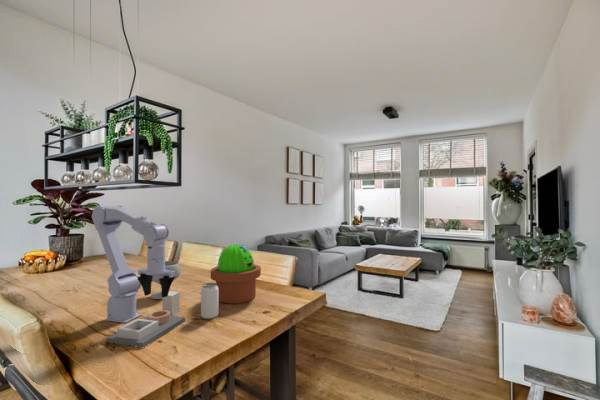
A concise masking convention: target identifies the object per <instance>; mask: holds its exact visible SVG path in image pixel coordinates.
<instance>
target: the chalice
mask: <svg viewBox="0 0 600 400" xmlns="http://www.w3.org/2000/svg"><path fill="white" fill-rule="evenodd" d="M165 269H167V270H171V271H175V278H174V280H173V282H174V281H175V280H177V279H178V278H179V277H180V275H181V272H182V271H181V266H180V264H179V262H177V261H175V260H174V261H173V260H171V261H170V260H169V261H168V260H167V261H166V260H165ZM160 278H164V276H153V278H152V282H153V283H156V284H158V285H160V286H161V284H160V281H159V279H160ZM169 292H178V291H177V290H173V289H172V290H170V289H169ZM150 299H152V300H162V290H161V291H157V292H153V293H151V294H150Z"/></svg>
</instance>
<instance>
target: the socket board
mask: <svg viewBox="0 0 600 400" xmlns="http://www.w3.org/2000/svg"><path fill="white" fill-rule="evenodd" d="M185 322H186V317H184V316H176V315H174V316H170V311H167V310H155V311H153V312H150V313H149V314H148V315H147V316H146V317H145V318H137V319H136V318H135V320H134V319H133V320H131V322H130V321H129V322H127V324H126V323H125V324H124V325H122V326H121V327H118V328H117V329H116V332H115V333H113V334H111V335H109V336H107V337H106V339H105V340H106V343H107V342H109V343H108V344H113V343H115V344H114V345H120V344H123V345H122V346H126V345H131V346H130V347H133V346H137V347H136V348H139V347H144V348H146V347H148V344H149V345H151V344H152V343H153V341H154V342H155V341H157V340H158V339H160V338H161V337H163V336H165V335H167V333H169V332H171V331H172V330H174V329H176V328H178V325H179V326H180V325H182V324H183V323H185ZM175 327H176V328H175ZM164 334H165V335H164ZM145 346H146V347H145Z"/></svg>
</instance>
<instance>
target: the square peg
mask: <svg viewBox="0 0 600 400" xmlns="http://www.w3.org/2000/svg"><path fill="white" fill-rule="evenodd" d="M180 294H181V293H180V292H178V291H177V292H169V293H168V296H166V297H164V298H163V297H162V299H161V301H162V310H167V311H170V316H176V315H177V314H179V313H180V312H181V311H180V310H181V309H180V303H181V300H180V297H181V296H180Z"/></svg>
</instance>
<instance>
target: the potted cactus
mask: <svg viewBox="0 0 600 400" xmlns="http://www.w3.org/2000/svg"><path fill="white" fill-rule="evenodd" d="M252 254H253V252H251V251H250V249H249V247H247V246H245V244H243V243H241V244H234V243H233V244H230V245H229V246H228V247H227V246H226V247H225V248H224V250H222V251H221V252H220V255H219V256H218V257H219V258H218V259H217V261H218V262H217V266H214V267H212V268H211V269H210V279H211V280H212V281H215V283H216V284H217V286H218V302H220V303H222V304H230V305H231V304H234V305H235V304H242V303H247V302H249V301H251V300H254V298H255V297H256V295H257V292H256V291H257V287H256V286H257V285H256V283H257V280H256V279H257V278H259V277H261V275H262V272H261V271H262V269H261V265H258V264H255V263H254V261H255V259H254V256H253V255H252Z"/></svg>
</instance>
